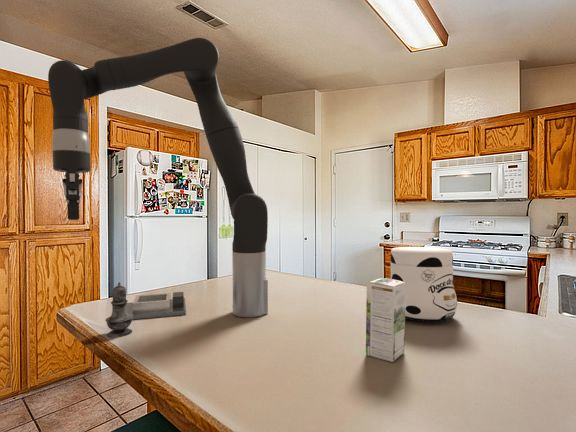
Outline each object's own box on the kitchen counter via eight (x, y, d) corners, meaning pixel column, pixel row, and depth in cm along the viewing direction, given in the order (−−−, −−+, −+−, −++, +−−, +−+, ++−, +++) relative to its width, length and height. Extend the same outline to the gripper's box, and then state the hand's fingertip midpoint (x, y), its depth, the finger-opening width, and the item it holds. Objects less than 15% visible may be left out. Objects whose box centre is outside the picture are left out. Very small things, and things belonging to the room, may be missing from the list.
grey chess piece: (122, 338, 76) (121, 285, 76) (99, 336, 77) (98, 284, 77) (138, 329, 82) (138, 280, 81) (117, 328, 83) (116, 279, 83)
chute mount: (185, 302, 107) (185, 288, 107) (185, 314, 93) (185, 299, 93) (122, 307, 101) (122, 293, 101) (113, 321, 88) (113, 305, 88)
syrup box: (377, 346, 71) (377, 277, 71) (405, 353, 67) (405, 280, 67) (365, 355, 66) (365, 281, 66) (394, 363, 62) (394, 285, 62)
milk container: (462, 330, 80) (462, 254, 80) (385, 323, 85) (385, 252, 85) (452, 310, 96) (452, 247, 96) (388, 305, 102) (388, 245, 102)
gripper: (91, 147, 76) (93, 219, 76) (89, 156, 88) (91, 219, 88) (50, 144, 72) (52, 220, 72) (54, 154, 84) (56, 220, 84)
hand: (73, 219), depth 80 cm, fingers open, 8 cm apart
